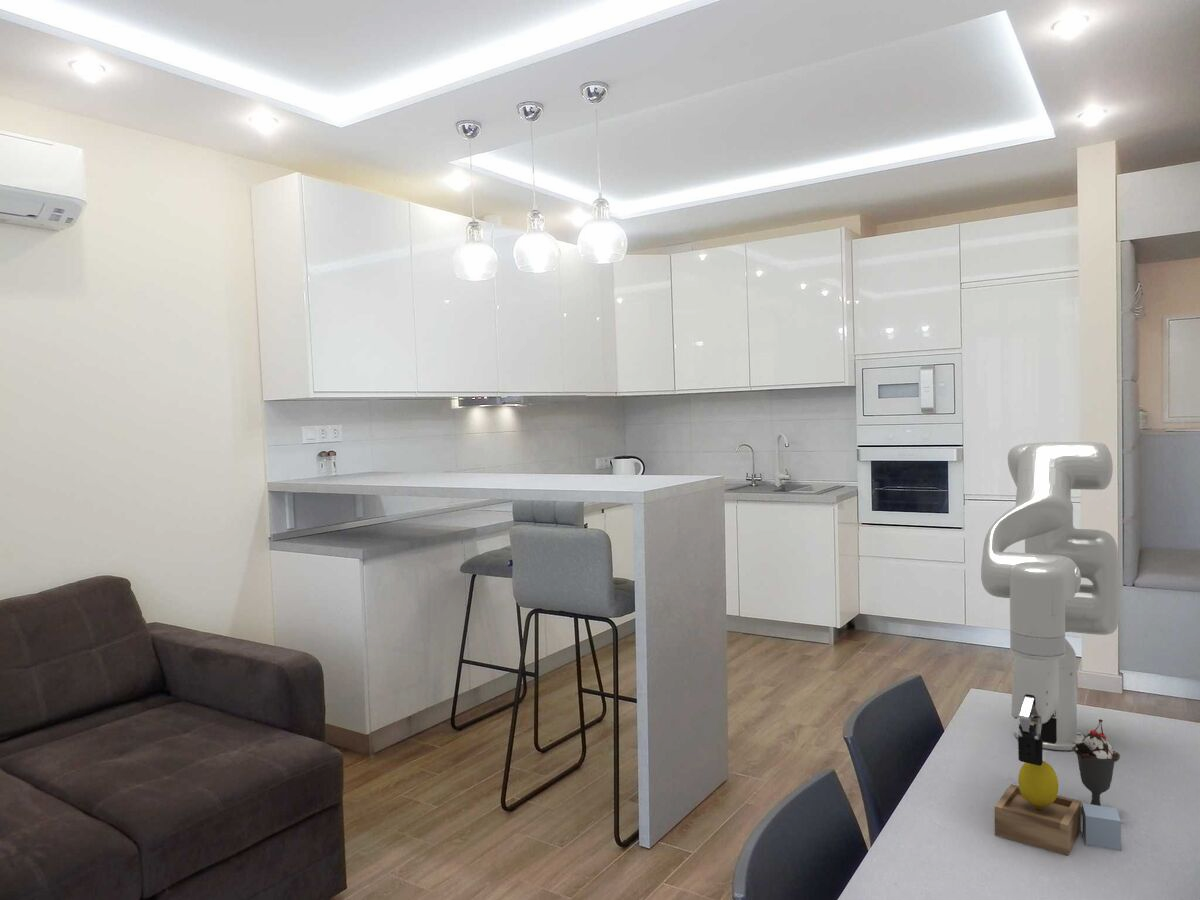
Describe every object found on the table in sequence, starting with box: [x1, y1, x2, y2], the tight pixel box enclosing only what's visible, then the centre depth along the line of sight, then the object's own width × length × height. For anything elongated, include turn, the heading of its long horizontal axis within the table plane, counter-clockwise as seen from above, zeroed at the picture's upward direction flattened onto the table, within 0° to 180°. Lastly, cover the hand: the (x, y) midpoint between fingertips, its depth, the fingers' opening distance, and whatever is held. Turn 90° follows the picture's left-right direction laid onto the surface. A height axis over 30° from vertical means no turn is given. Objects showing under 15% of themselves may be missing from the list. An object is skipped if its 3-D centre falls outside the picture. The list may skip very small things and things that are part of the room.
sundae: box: [1072, 719, 1121, 815], centre depth 133 cm, size 7×7×15 cm
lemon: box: [1017, 760, 1059, 809], centre depth 128 cm, size 6×6×8 cm
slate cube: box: [1081, 802, 1122, 852], centre depth 125 cm, size 4×4×4 cm
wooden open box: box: [994, 784, 1082, 857], centre depth 128 cm, size 10×10×4 cm
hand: (1038, 751), depth 128 cm, fingers open, 9 cm apart
